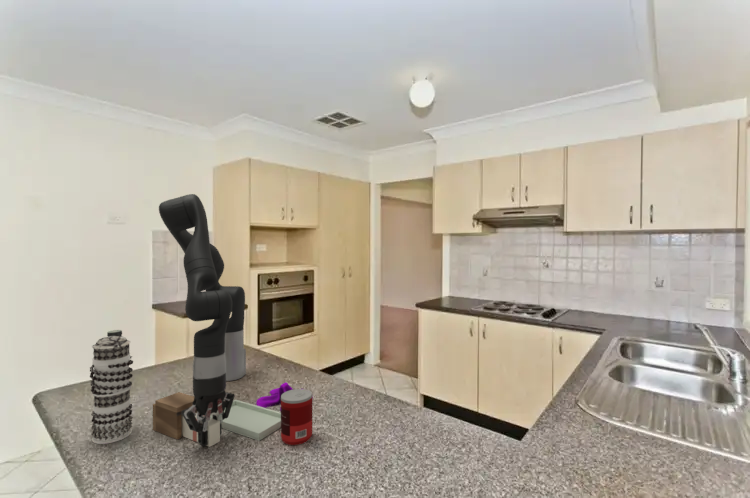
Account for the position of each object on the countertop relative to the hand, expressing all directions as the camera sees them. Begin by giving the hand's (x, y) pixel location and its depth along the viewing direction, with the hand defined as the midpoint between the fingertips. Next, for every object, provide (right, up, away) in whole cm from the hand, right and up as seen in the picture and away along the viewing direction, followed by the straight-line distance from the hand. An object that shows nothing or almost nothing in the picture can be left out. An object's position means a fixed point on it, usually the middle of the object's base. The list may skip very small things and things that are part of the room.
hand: (209, 441), depth 94 cm
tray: (+5, 0, +11) cm, 12 cm away
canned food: (+21, -1, +2) cm, 21 cm away
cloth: (+14, -1, +26) cm, 29 cm away
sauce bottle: (-45, 0, +33) cm, 56 cm away
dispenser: (-11, 0, +6) cm, 13 cm away
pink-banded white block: (-5, 0, +3) cm, 5 cm away
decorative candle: (-26, 0, +3) cm, 27 cm away
